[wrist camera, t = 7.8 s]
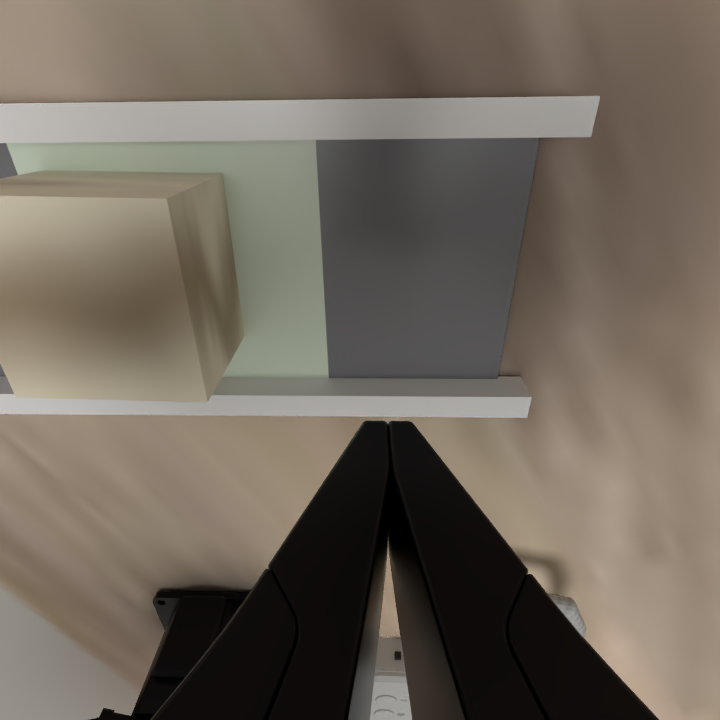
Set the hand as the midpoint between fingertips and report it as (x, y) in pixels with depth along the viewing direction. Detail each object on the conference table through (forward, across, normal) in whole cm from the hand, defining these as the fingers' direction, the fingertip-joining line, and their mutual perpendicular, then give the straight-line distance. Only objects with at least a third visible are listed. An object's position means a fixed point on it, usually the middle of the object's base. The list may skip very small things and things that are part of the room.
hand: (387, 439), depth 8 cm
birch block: (+9, +8, 0) cm, 12 cm away
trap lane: (+10, +7, 0) cm, 12 cm away
